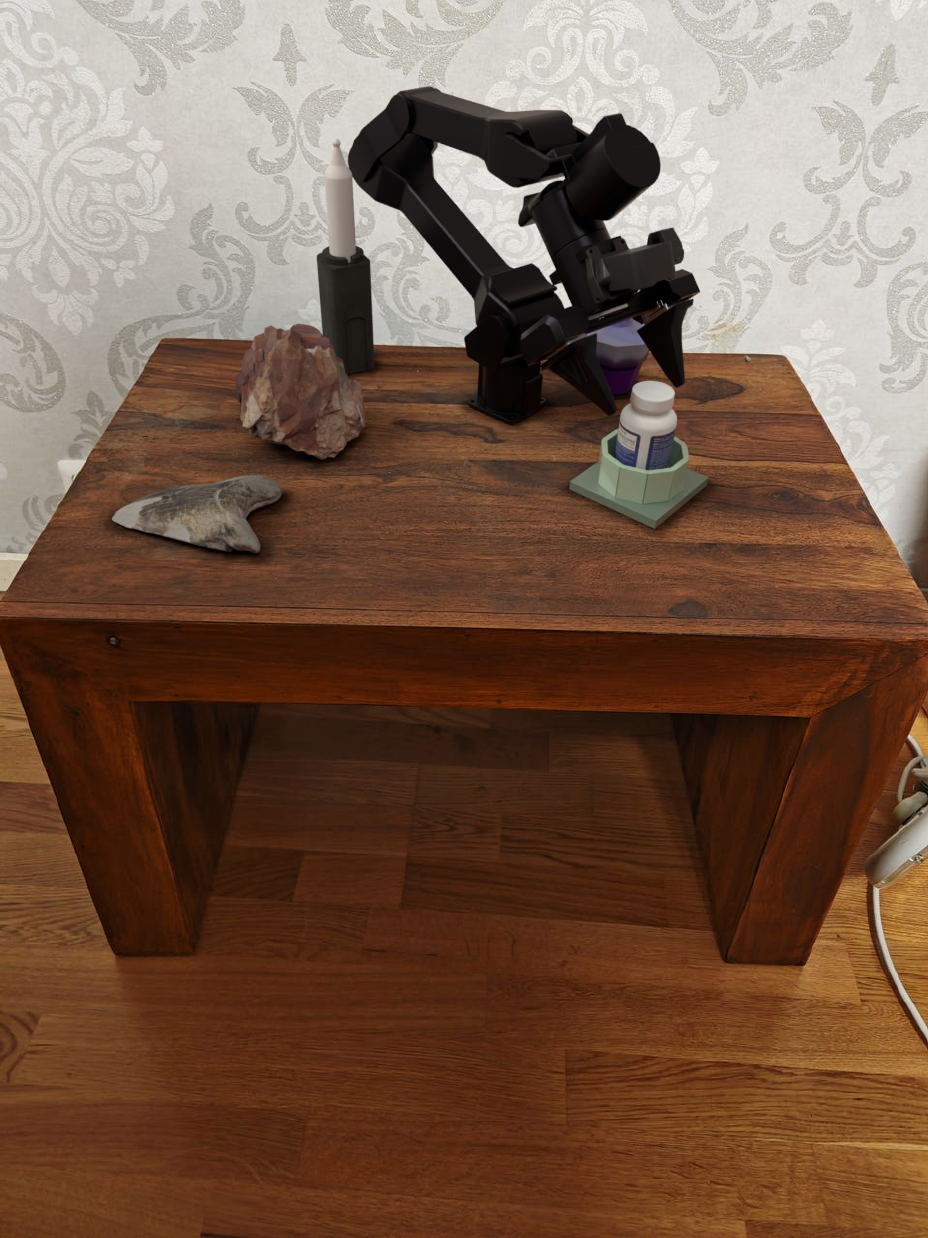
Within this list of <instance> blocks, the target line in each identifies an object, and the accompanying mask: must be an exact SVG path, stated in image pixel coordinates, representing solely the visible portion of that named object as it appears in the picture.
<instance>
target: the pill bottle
mask: <svg viewBox="0 0 928 1238" xmlns="http://www.w3.org/2000/svg"><path fill="white" fill-rule="evenodd" d="M675 395H676V392H675V389H674V388H673V387H672V386H671V385H669V384H667V383H664V382H661V381H657V380H643V381H640V382H637V383H636V384H635V383H634V386H633V388H632V391H631V392H630V397H629V400H630V401H629V403H627V404H626V405H625V406H624V408H623V409H622V410H621V412H620V416H619V422H618V429H619V430H618V437H617V443H616V451H615V459H617V460H618V461H619V462H621V463H622V464H623V465H627V466H631V467H635V468H640V469H644V470H656V469H664V468H668V467H669V462H670V457H671V451H672V446H673V441H674V436H675V435H676V431H677V426H678V425H677V424H678V416H677V413H676V412H675V410H674V409H673V406H674V402H675ZM675 437H676V436H675Z"/></svg>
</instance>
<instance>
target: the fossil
mask: <svg viewBox="0 0 928 1238" xmlns="http://www.w3.org/2000/svg"><path fill="white" fill-rule="evenodd" d="M282 495H283V488H282V486H281V485H280V484H279V483H278V482H277V481H276V480H274V479H273V478H271V477H269V476H266V475H262V474H252V475H241V476H236V477H232V478H228V479H225V480H222V481H216V482H211V483H202V484H188V485H179V486H174V487H169V488H165V489H163V490H159V491H156V492H153V493H151V494H148V495H146V496H143V497H141V498H138V499H136V500H134V501H132V502H130V503H127V504H126V505H125V506H122V507H121V508H120V509H118V510H117V511H115V513H114V515H113V516H112V518H111V520H112V521H113V523H116V524H118V525H120V526H122V527H125V528H126V529H130V530H135V531H141V532H144V533H149V534H154V535H158V536H161V537H164V538H170V539H173V540H176V541H181V542H186V543H189V544H192V545H195V546H199V547H204V548H208V549H212V550H217V551H223V552H228V553H231V552H233V550H236V551H246V552H247V551H248V552H251V553H253V554H258V553H260V551H261V543H260V540H259V538H258V535H256V533H255V531H254V530H253V528H252V527H251V525H250V523H249V522H248V520H247V517H248V516H249V515H250V513H251V512H253V511H255V510H257V509H259V508H261V507H265V506H269V505H271V504H274V503H276V502H277V501H278V500H280V499H281V496H282Z"/></svg>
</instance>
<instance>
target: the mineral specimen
mask: <svg viewBox="0 0 928 1238" xmlns="http://www.w3.org/2000/svg"><path fill="white" fill-rule="evenodd" d="M333 347H334V346H333V345H332V343H331V342H330V340H329V339H328V338H326V337H324V336H323V333H322V331H320V330H319V329H318V328H317V327H315V326H314V325H310V324H304V323H296V324H293V325H292V326H291V327H289V328H288V329H286V330H284V329H283V328H281V327H280V328H277V327H275V326H273V325H269V326H266V327H264V330H263V332H262V333H259V334H257V335H254V337H253V339H252V342H251V346H250V347H249V349H248V350H246V352H245V353H244V355H243V356H242V362H241V365H240V372H239V373H237V374H236V375H235V376H236V377H235V400H236V401H237V402H238V403H239V404H240V417H239V418H240V421H242V427H243V428H245V429H246V430H247V431H248V433H249V435H250V436H252V438H257V439H258V440H260V441H262V442H265V443H268V444H276V445H285V446H287V447H288V448H289V449H291V450H293V451H295V452H297V453H298V452H304V453H305V454H306V455H309V456H311V455H312V456H313V457H315V458H317V459H319V460H322V461H323V460H326V459H327V458H332V459H333V458H336V457H337V456H338V455H339V453H340V452H341V451H343V450H344V449H345V447H346V446H347V443H349V442H350V441H352V440H355V439H356V438H357V437H359V435H360V434H361V430H363V429H364V428H365V427H366V425H367V412H366V410H365V407H364V403H365V397H364V395H363V392H364V389H363V384H362V383H361V382H360V381H358V380H355V379H350V378H349V375H347V374H346V373H345V368H344V363H343V360H342V359H341V358H339V357H336V354H335V351H334V348H333Z"/></svg>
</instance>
